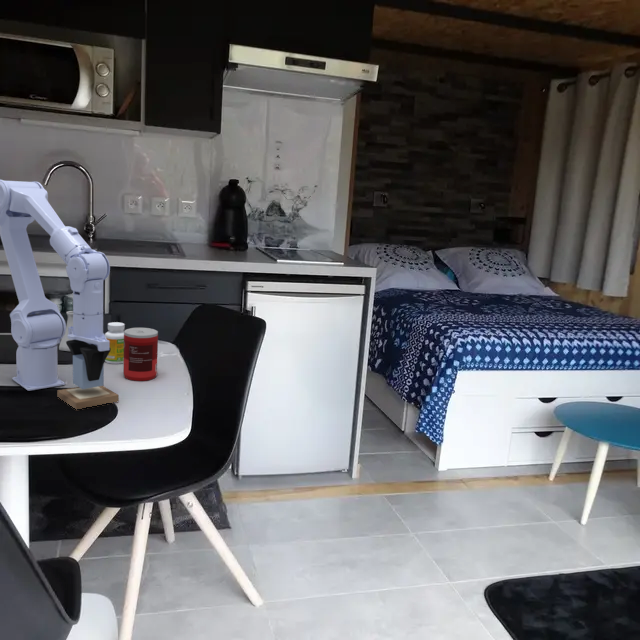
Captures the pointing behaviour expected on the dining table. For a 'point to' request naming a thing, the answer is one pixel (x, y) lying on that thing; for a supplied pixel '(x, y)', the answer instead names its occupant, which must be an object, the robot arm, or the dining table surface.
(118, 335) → the supplement bottle
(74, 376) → the block
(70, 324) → the flask
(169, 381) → the dining table surface
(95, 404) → the plinth
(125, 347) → the canned food
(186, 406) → the dining table surface
